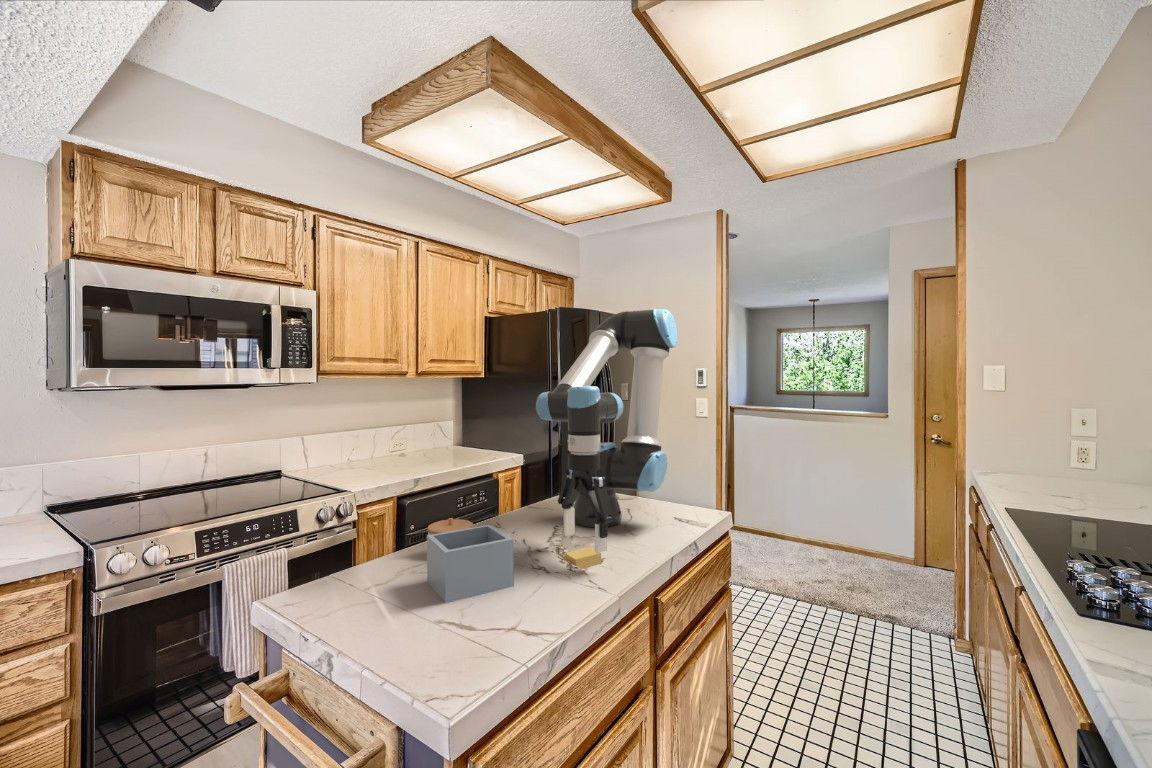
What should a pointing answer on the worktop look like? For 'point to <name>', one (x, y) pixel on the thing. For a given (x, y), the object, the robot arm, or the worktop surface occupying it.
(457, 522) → the lidded jar
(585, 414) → the robot arm
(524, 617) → the worktop surface
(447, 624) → the worktop surface
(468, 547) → the tub
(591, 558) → the lid
